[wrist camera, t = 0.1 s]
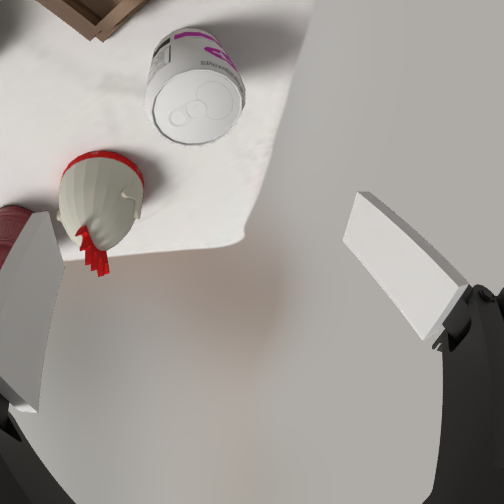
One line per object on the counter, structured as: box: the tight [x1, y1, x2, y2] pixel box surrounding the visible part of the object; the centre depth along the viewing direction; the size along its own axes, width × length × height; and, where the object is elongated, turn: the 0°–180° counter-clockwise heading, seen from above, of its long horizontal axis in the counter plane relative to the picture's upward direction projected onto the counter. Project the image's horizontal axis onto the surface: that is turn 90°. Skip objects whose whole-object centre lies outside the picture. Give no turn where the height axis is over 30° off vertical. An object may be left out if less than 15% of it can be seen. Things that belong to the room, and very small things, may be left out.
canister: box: [0, 206, 32, 270], centre depth 36 cm, size 13×13×18 cm
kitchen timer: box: [57, 151, 144, 277], centre depth 36 cm, size 14×14×15 cm
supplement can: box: [144, 28, 245, 147], centre depth 24 cm, size 8×8×15 cm
